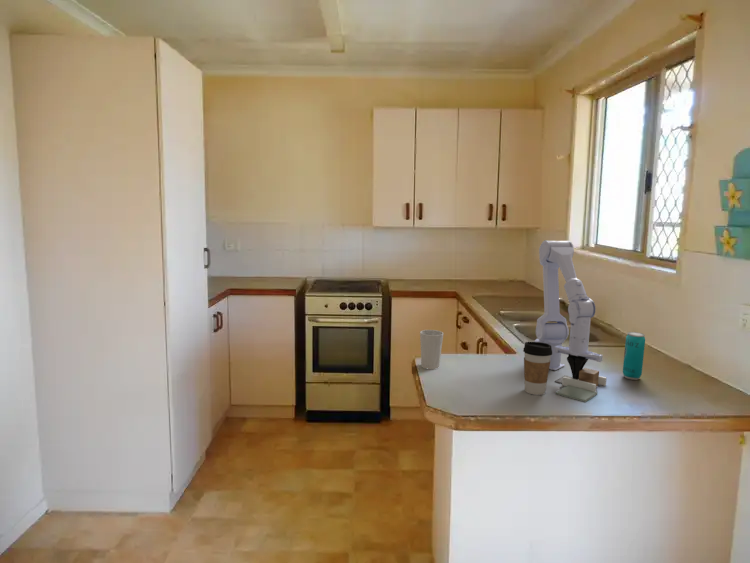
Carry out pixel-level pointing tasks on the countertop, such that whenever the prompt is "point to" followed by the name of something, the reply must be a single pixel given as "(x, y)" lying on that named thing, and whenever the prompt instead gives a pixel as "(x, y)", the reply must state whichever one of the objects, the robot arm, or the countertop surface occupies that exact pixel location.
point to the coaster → (576, 393)
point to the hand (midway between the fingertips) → (575, 378)
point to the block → (589, 376)
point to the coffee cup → (536, 366)
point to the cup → (431, 348)
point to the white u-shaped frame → (581, 382)
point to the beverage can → (633, 355)
